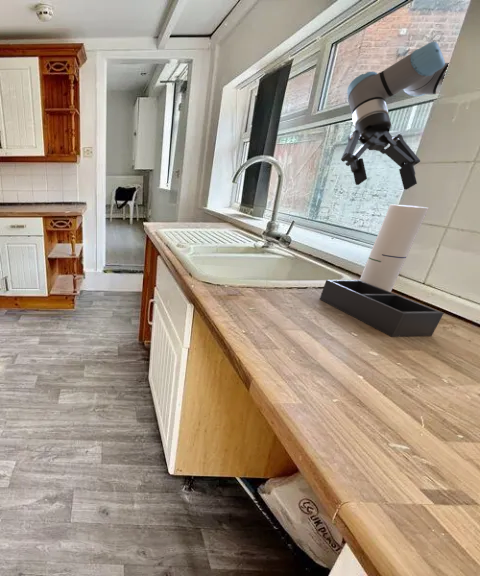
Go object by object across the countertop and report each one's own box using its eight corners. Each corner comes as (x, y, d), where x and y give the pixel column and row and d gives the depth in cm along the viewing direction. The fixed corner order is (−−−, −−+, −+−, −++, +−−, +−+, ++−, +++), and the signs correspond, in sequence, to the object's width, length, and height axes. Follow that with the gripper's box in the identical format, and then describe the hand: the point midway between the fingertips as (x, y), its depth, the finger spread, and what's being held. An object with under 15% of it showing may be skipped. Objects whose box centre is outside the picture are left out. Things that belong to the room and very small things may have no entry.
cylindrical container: (384, 304, 81) (427, 208, 72) (351, 295, 86) (388, 204, 77) (388, 298, 86) (429, 207, 76) (356, 290, 91) (392, 203, 81)
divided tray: (352, 299, 84) (359, 280, 82) (431, 336, 66) (444, 312, 64) (319, 299, 83) (326, 279, 80) (391, 336, 65) (402, 313, 63)
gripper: (400, 135, 93) (416, 196, 86) (319, 128, 92) (329, 188, 86) (426, 115, 85) (446, 179, 79) (339, 106, 85) (352, 170, 79)
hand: (385, 184), depth 82 cm, fingers open, 13 cm apart
